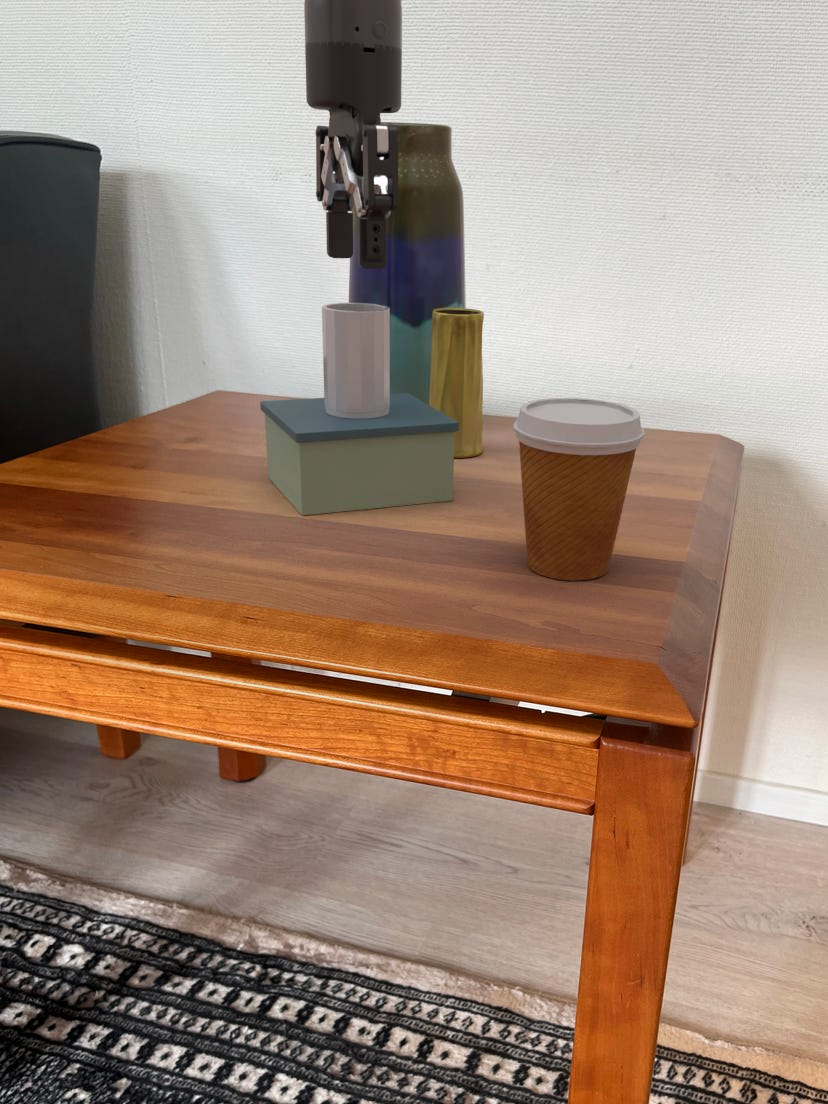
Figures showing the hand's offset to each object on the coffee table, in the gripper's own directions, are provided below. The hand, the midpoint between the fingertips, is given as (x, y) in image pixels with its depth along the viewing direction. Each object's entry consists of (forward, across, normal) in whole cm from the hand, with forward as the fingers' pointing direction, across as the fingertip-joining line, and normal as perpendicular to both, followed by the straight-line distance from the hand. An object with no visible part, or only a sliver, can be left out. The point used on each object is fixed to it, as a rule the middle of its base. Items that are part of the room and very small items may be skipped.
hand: (355, 262), depth 86 cm
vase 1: (+20, -27, +15) cm, 37 cm away
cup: (+13, 0, 0) cm, 13 cm away
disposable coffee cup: (+20, +24, +9) cm, 32 cm away
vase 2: (+20, -10, +14) cm, 26 cm away
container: (+20, 0, 0) cm, 20 cm away
